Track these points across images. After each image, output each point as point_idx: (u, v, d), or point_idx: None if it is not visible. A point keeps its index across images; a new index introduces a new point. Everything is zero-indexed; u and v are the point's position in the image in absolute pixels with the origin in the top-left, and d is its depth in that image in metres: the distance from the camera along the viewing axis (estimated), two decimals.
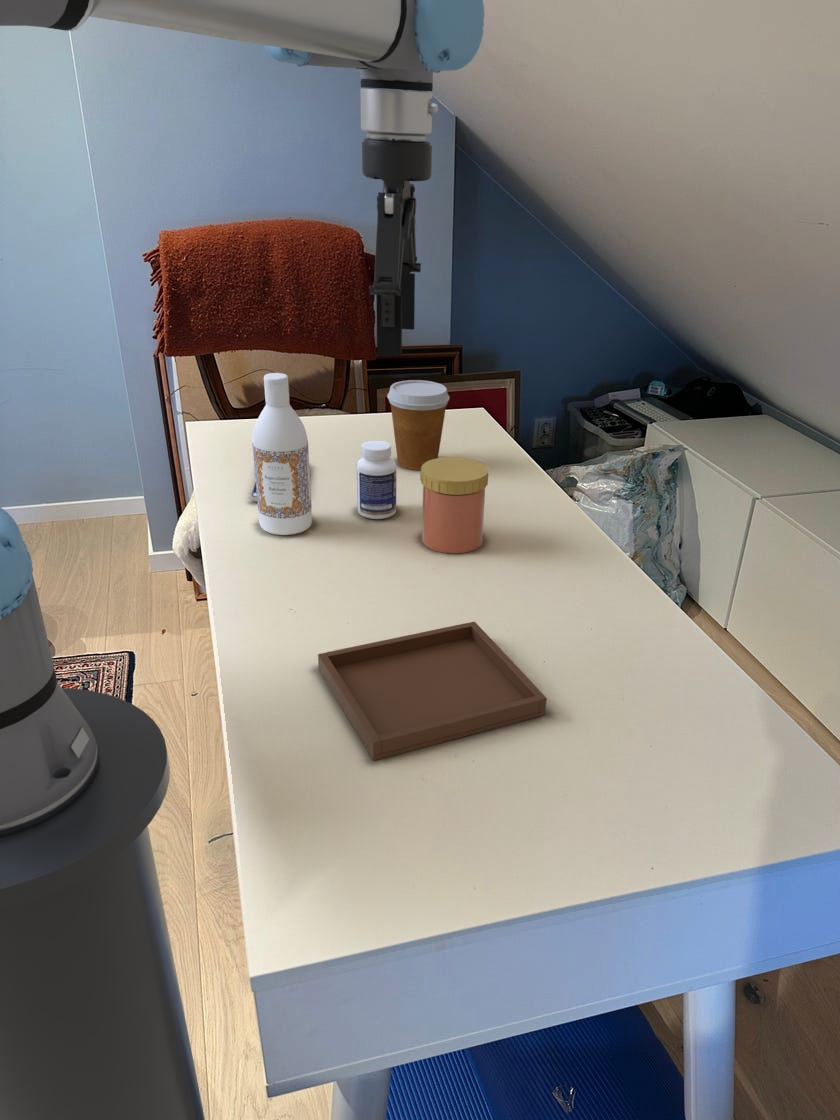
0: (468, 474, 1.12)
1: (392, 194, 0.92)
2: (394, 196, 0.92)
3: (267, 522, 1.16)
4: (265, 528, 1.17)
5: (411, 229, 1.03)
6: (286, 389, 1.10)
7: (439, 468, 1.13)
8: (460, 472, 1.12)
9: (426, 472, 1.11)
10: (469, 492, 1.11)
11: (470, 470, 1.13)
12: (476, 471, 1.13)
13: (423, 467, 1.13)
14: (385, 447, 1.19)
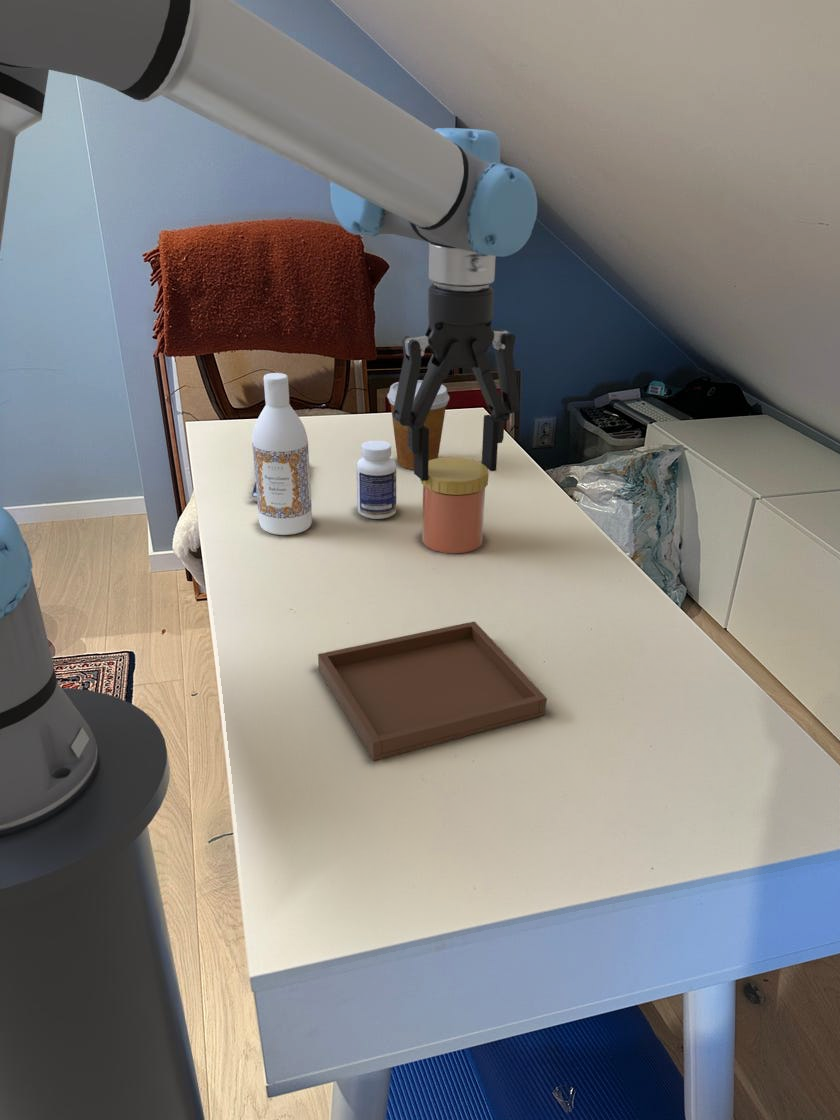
0: (468, 474, 1.12)
1: (408, 340, 1.02)
2: (408, 343, 1.02)
3: (267, 522, 1.16)
4: (265, 528, 1.17)
5: (480, 371, 1.07)
6: (286, 389, 1.10)
7: (439, 468, 1.13)
8: (460, 472, 1.12)
9: None
10: (469, 492, 1.11)
11: (470, 470, 1.13)
12: (476, 471, 1.13)
13: None
14: (385, 447, 1.19)
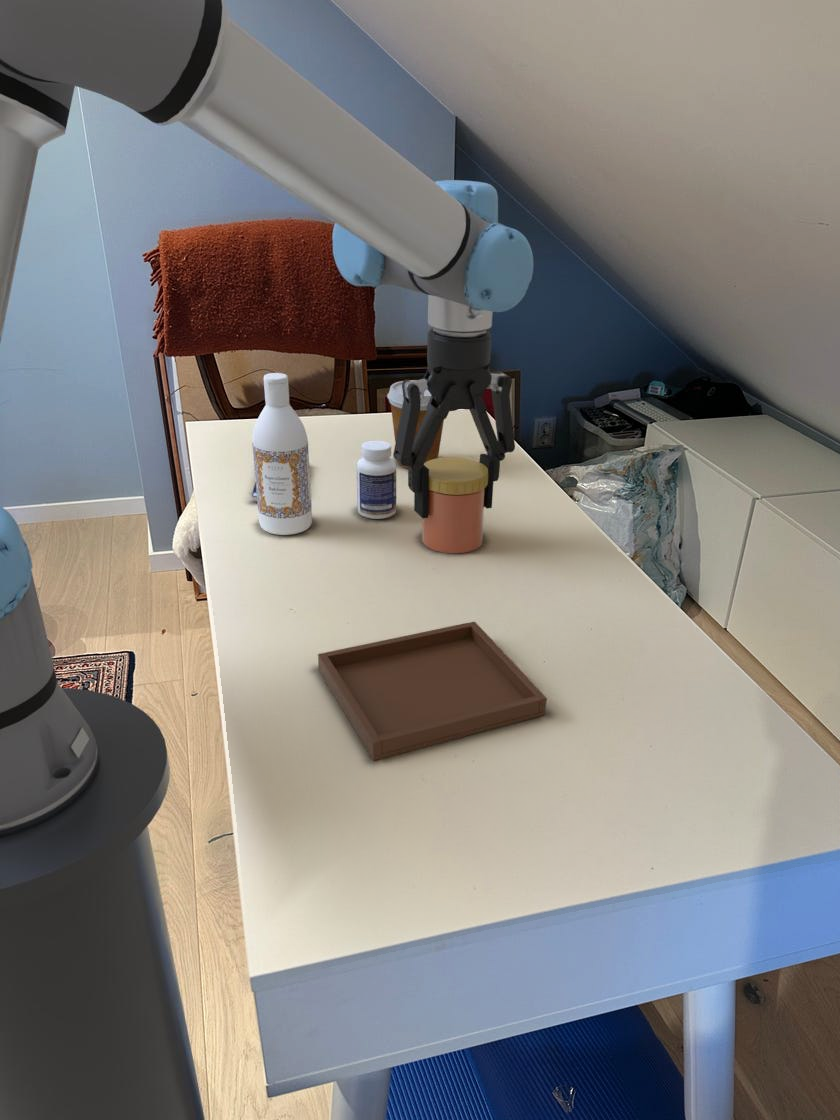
0: (468, 474, 1.12)
1: (408, 384, 1.04)
2: (408, 387, 1.04)
3: (267, 522, 1.16)
4: (265, 528, 1.17)
5: (477, 412, 1.09)
6: (286, 389, 1.10)
7: (439, 468, 1.13)
8: (460, 472, 1.12)
9: None
10: (469, 492, 1.11)
11: (470, 470, 1.13)
12: (476, 471, 1.13)
13: None
14: (385, 447, 1.19)
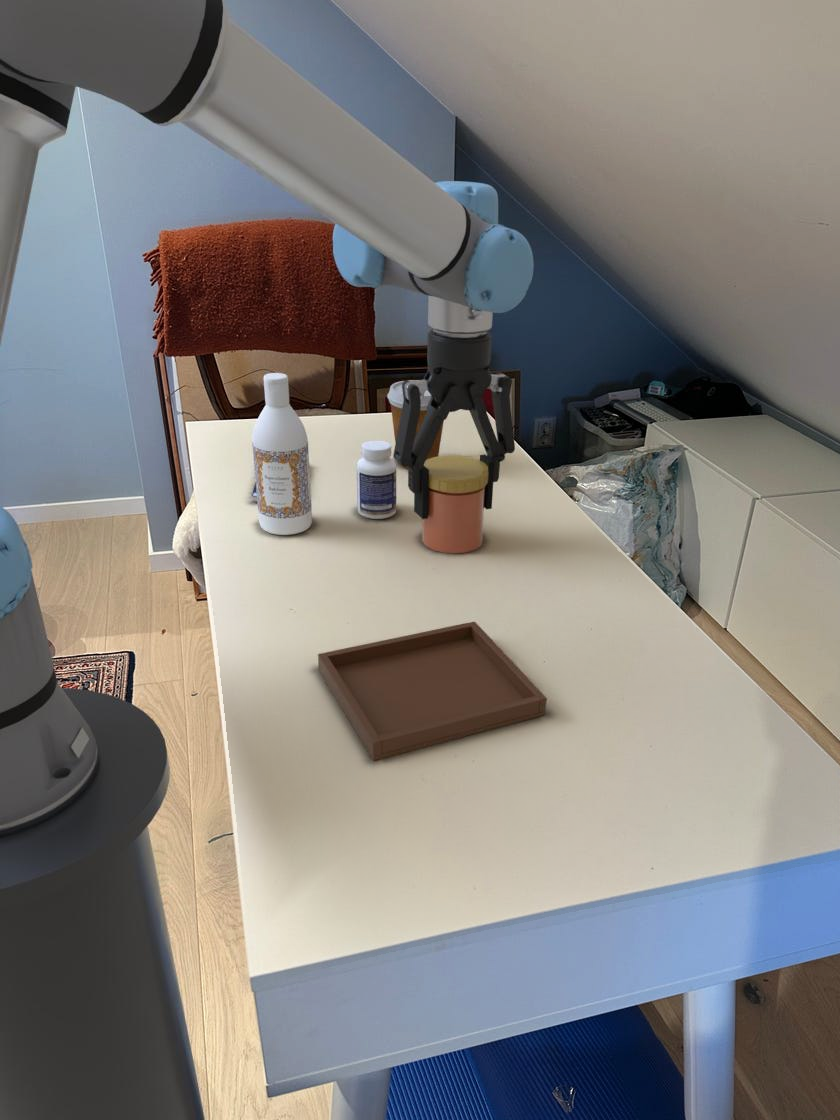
0: (468, 462, 1.15)
1: (408, 385, 1.04)
2: (408, 387, 1.04)
3: (267, 522, 1.16)
4: (265, 528, 1.17)
5: (477, 413, 1.09)
6: (286, 389, 1.10)
7: (455, 472, 1.11)
8: (464, 465, 1.14)
9: (468, 477, 1.10)
10: None
11: (457, 461, 1.15)
12: (459, 459, 1.15)
13: (453, 478, 1.10)
14: (385, 447, 1.19)
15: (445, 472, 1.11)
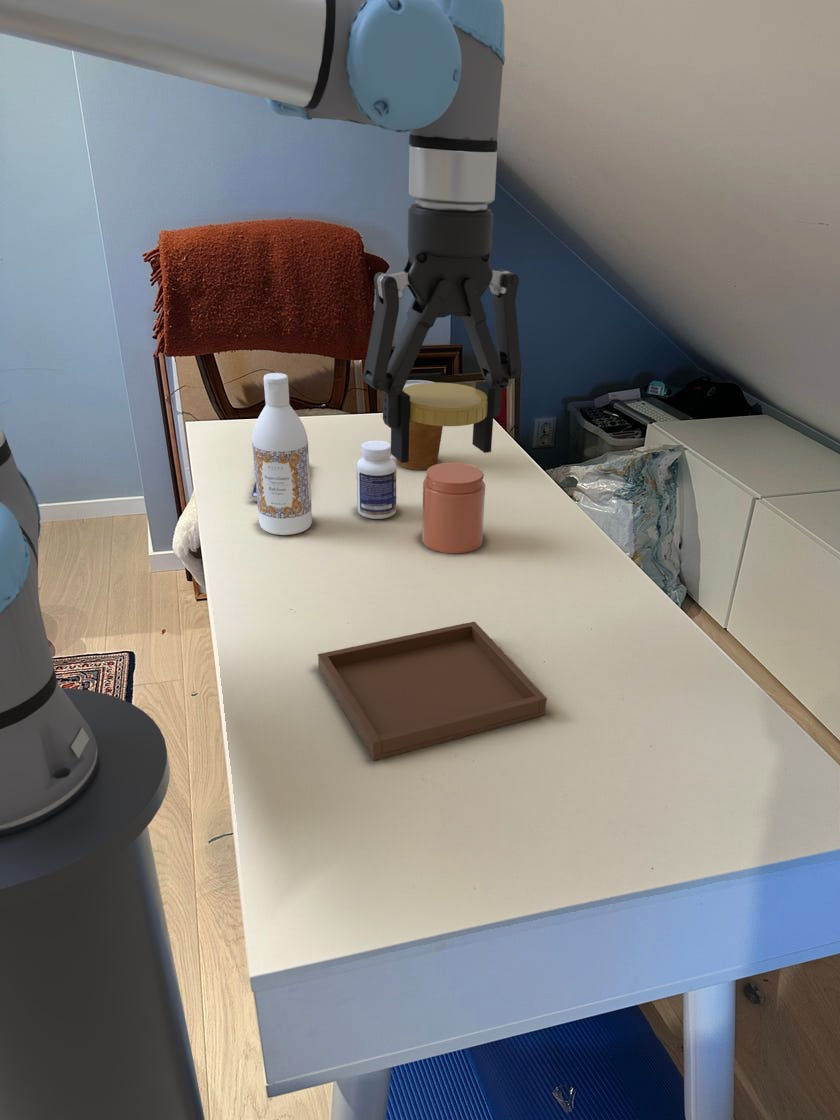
0: (425, 398, 0.85)
1: None
2: None
3: (267, 522, 1.16)
4: (265, 528, 1.17)
5: None
6: (286, 389, 1.10)
7: (442, 388, 0.88)
8: (430, 396, 0.86)
9: (426, 383, 0.90)
10: None
11: (439, 400, 0.85)
12: (437, 402, 0.84)
13: (444, 383, 0.90)
14: (385, 447, 1.19)
15: (455, 389, 0.89)
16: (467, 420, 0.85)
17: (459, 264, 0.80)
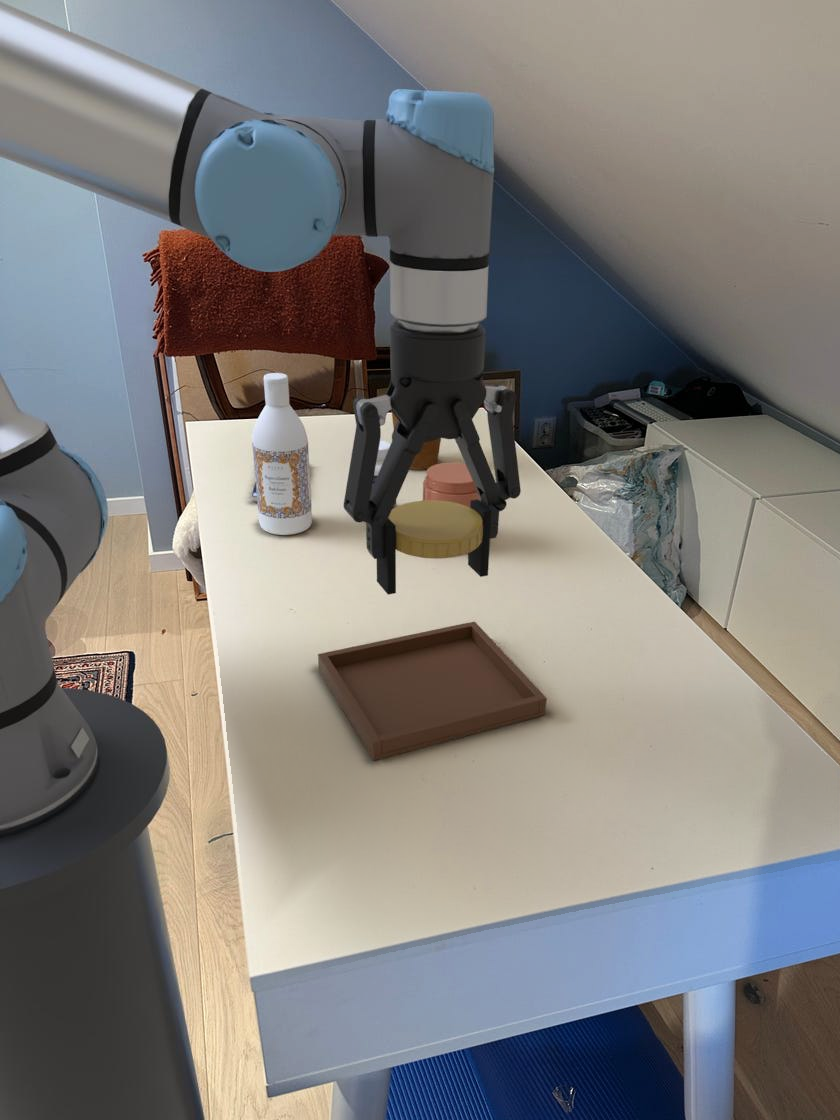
0: (413, 526, 0.77)
1: None
2: None
3: (267, 522, 1.16)
4: (265, 528, 1.17)
5: None
6: (286, 389, 1.10)
7: (433, 510, 0.80)
8: (419, 521, 0.78)
9: (416, 502, 0.81)
10: None
11: (429, 528, 0.77)
12: (425, 531, 0.76)
13: (436, 501, 0.82)
14: (385, 447, 1.19)
15: (447, 509, 0.80)
16: (459, 551, 0.76)
17: (448, 385, 0.72)
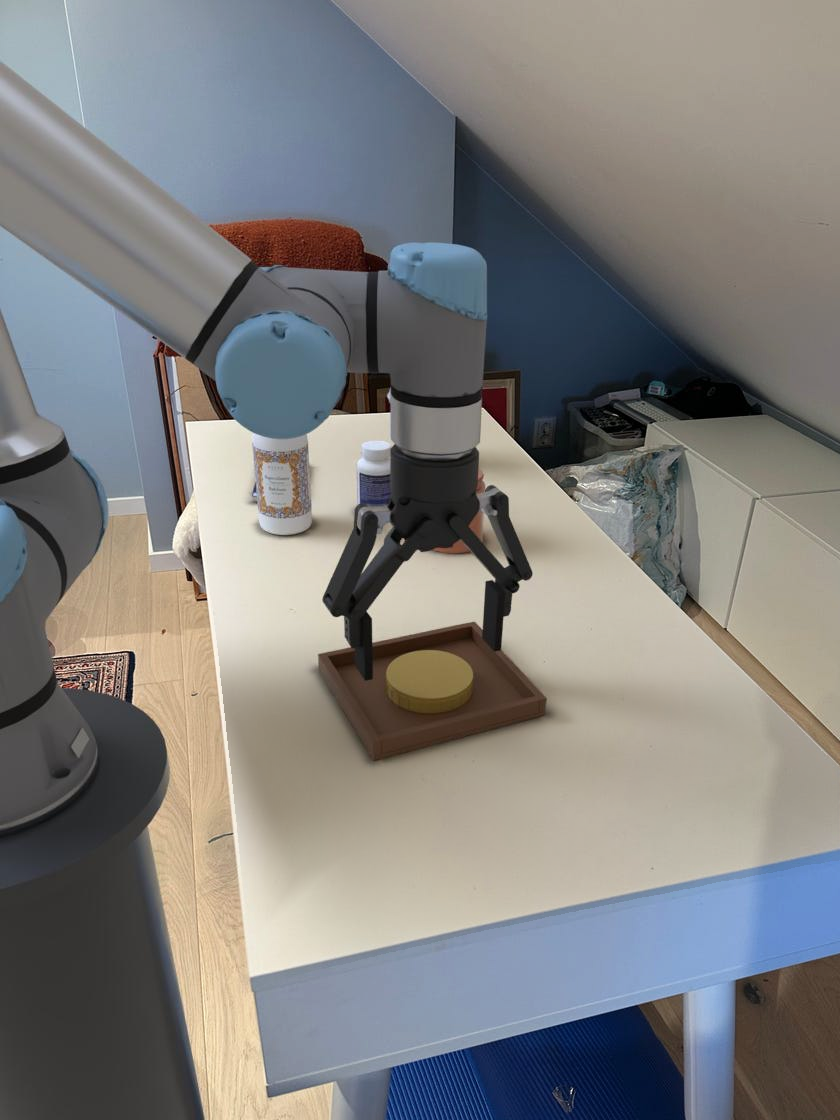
0: (410, 682, 0.85)
1: (498, 489, 0.80)
2: None
3: (267, 522, 1.16)
4: (265, 528, 1.17)
5: None
6: None
7: (428, 662, 0.89)
8: (416, 676, 0.86)
9: (413, 653, 0.90)
10: (389, 696, 0.86)
11: (425, 684, 0.85)
12: (422, 688, 0.85)
13: (431, 651, 0.90)
14: (385, 447, 1.19)
15: (442, 661, 0.89)
16: (452, 706, 0.85)
17: None
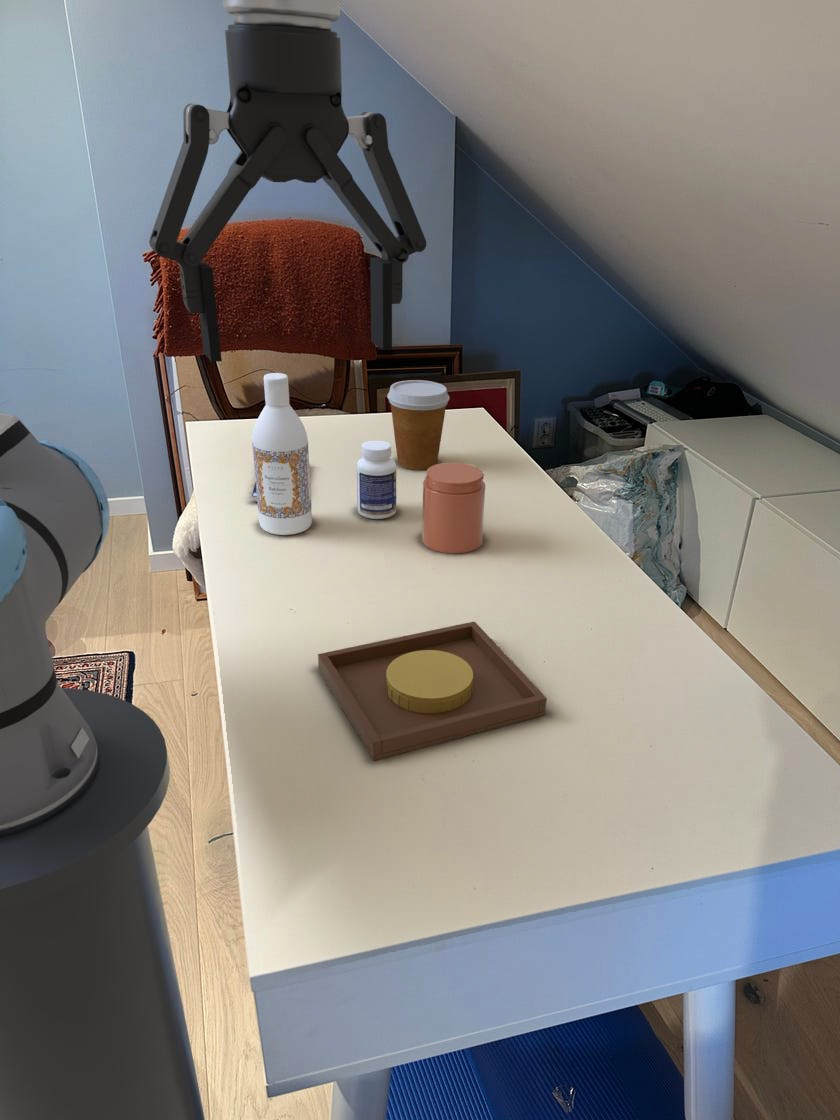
0: (410, 682, 0.85)
1: None
2: None
3: (267, 522, 1.16)
4: (265, 528, 1.17)
5: None
6: (286, 389, 1.10)
7: (428, 662, 0.89)
8: (416, 676, 0.86)
9: (413, 653, 0.90)
10: (389, 696, 0.86)
11: (425, 684, 0.85)
12: (422, 688, 0.85)
13: (431, 651, 0.90)
14: (385, 447, 1.19)
15: (442, 661, 0.89)
16: (452, 706, 0.85)
17: (298, 108, 0.61)
